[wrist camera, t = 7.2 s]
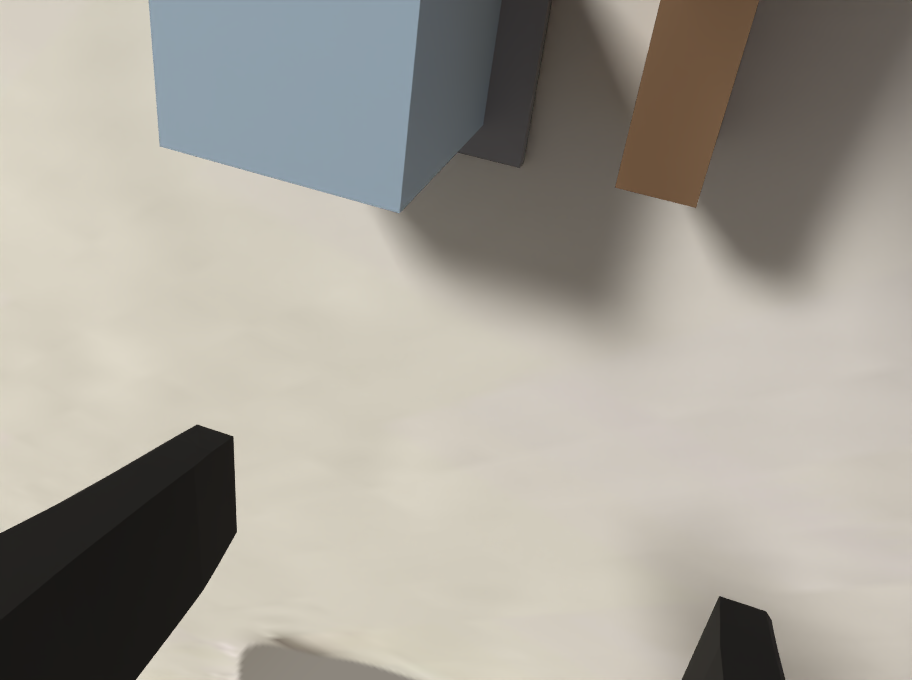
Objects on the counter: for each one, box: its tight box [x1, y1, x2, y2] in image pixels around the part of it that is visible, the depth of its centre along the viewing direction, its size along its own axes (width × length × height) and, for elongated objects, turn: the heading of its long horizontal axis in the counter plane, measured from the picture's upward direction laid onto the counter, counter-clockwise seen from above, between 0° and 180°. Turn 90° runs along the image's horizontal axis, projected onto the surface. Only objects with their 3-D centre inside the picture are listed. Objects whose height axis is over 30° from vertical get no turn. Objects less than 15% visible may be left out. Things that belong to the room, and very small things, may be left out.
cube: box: [149, 0, 502, 213], centre depth 17 cm, size 5×5×5 cm
